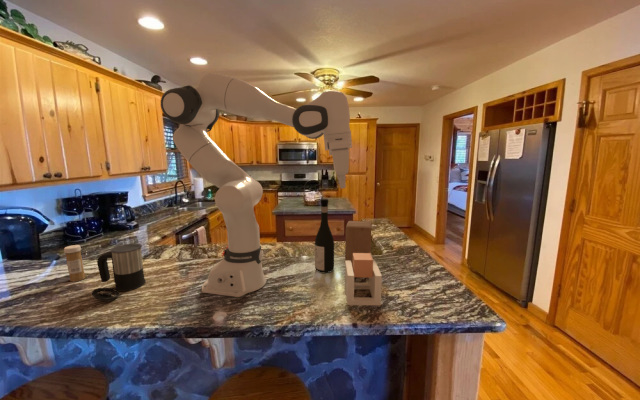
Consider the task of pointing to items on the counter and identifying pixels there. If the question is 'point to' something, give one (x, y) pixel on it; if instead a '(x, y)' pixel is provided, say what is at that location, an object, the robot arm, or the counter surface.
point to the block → (362, 265)
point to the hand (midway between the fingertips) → (341, 186)
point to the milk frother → (121, 270)
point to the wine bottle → (324, 243)
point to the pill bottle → (74, 262)
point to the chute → (363, 286)
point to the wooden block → (357, 239)
